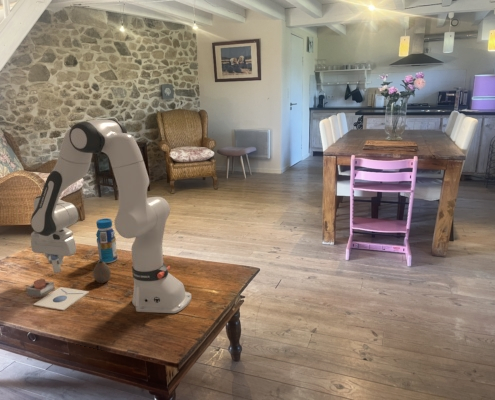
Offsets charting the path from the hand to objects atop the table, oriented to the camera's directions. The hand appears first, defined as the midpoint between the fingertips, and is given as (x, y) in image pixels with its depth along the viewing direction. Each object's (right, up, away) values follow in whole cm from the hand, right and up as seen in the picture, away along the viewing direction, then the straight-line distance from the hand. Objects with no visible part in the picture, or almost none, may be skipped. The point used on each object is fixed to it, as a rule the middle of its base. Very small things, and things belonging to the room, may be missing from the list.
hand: (56, 263), depth 163 cm
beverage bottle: (+14, -2, +22) cm, 26 cm away
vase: (+19, -8, +2) cm, 21 cm away
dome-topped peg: (0, -4, +1) cm, 4 cm away
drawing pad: (+8, -12, -12) cm, 19 cm away
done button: (-2, -9, -8) cm, 12 cm away
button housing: (-2, -10, -7) cm, 13 cm away
